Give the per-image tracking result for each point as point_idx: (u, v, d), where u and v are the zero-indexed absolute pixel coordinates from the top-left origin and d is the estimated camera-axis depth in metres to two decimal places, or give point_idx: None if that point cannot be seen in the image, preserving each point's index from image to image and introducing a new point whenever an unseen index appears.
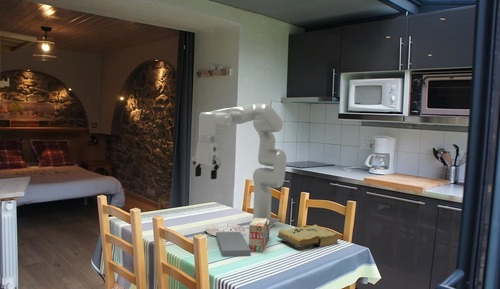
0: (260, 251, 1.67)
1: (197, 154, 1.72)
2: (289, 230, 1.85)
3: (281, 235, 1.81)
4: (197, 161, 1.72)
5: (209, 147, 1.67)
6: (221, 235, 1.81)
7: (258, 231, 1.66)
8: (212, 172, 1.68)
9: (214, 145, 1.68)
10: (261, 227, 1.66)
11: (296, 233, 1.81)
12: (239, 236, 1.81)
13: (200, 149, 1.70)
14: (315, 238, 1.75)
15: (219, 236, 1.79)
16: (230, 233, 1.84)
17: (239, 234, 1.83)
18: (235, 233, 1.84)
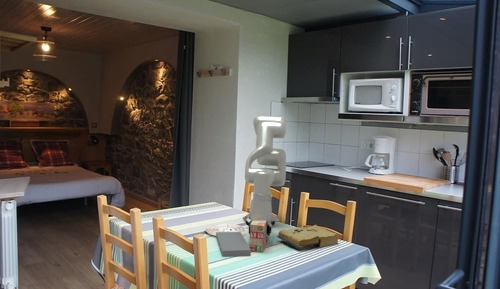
0: (261, 250, 1.67)
1: (253, 213, 1.73)
2: (289, 230, 1.84)
3: (281, 235, 1.81)
4: None
5: (269, 205, 1.75)
6: (221, 235, 1.81)
7: (259, 231, 1.67)
8: (270, 229, 1.76)
9: None
10: (262, 226, 1.66)
11: (296, 233, 1.80)
12: (239, 236, 1.81)
13: (259, 208, 1.73)
14: (315, 238, 1.75)
15: (219, 236, 1.79)
16: (230, 233, 1.84)
17: (239, 234, 1.83)
18: (235, 233, 1.84)
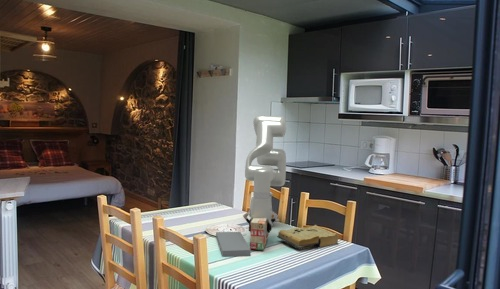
0: (261, 248, 1.68)
1: (253, 211, 1.74)
2: (289, 230, 1.84)
3: (281, 235, 1.81)
4: (254, 217, 1.74)
5: (270, 202, 1.75)
6: (221, 235, 1.81)
7: (259, 228, 1.67)
8: (270, 226, 1.77)
9: (270, 199, 1.77)
10: (262, 224, 1.67)
11: (296, 233, 1.80)
12: (239, 236, 1.81)
13: (259, 205, 1.74)
14: (315, 238, 1.75)
15: (219, 236, 1.79)
16: (230, 233, 1.84)
17: (239, 234, 1.83)
18: (235, 233, 1.84)
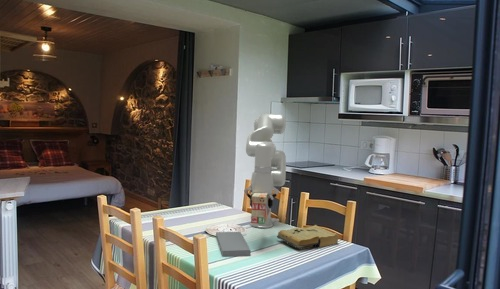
0: (263, 222, 1.67)
1: (255, 186, 1.73)
2: (289, 230, 1.84)
3: (281, 235, 1.81)
4: (255, 192, 1.73)
5: (271, 177, 1.74)
6: (221, 235, 1.81)
7: (261, 202, 1.66)
8: (271, 201, 1.76)
9: (272, 174, 1.76)
10: (264, 198, 1.66)
11: (296, 233, 1.80)
12: (239, 236, 1.81)
13: (260, 180, 1.73)
14: (315, 239, 1.75)
15: (219, 236, 1.79)
16: (230, 233, 1.84)
17: (239, 234, 1.83)
18: (235, 233, 1.84)
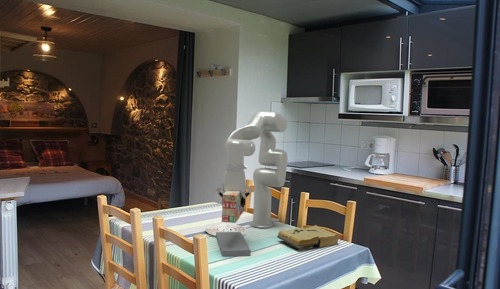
0: (234, 221, 1.63)
1: (226, 184, 1.69)
2: (289, 231, 1.84)
3: (281, 236, 1.81)
4: None
5: (243, 175, 1.70)
6: (221, 235, 1.81)
7: (231, 200, 1.62)
8: (244, 200, 1.72)
9: None
10: (234, 196, 1.62)
11: (296, 234, 1.80)
12: (239, 236, 1.81)
13: (232, 178, 1.69)
14: (315, 239, 1.74)
15: (219, 236, 1.79)
16: (230, 233, 1.84)
17: (239, 234, 1.83)
18: (235, 233, 1.84)
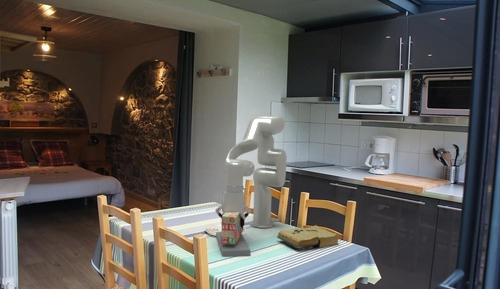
0: (233, 243, 1.64)
1: (226, 205, 1.70)
2: (289, 231, 1.84)
3: (281, 236, 1.80)
4: None
5: (242, 196, 1.71)
6: None
7: (231, 222, 1.63)
8: (243, 221, 1.73)
9: None
10: (234, 218, 1.63)
11: (296, 234, 1.79)
12: None
13: (231, 199, 1.70)
14: (315, 239, 1.74)
15: (219, 236, 1.79)
16: None
17: None
18: None
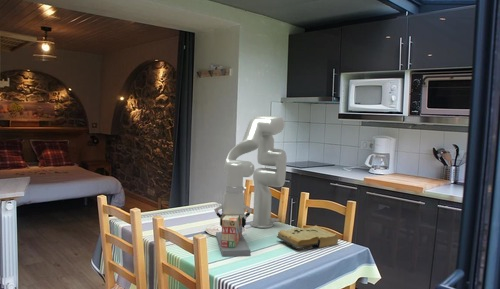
0: (233, 246, 1.64)
1: (226, 206, 1.70)
2: (289, 231, 1.84)
3: (280, 236, 1.80)
4: (226, 212, 1.70)
5: (242, 197, 1.71)
6: (221, 235, 1.81)
7: (231, 226, 1.63)
8: (244, 221, 1.73)
9: None
10: (234, 222, 1.63)
11: (295, 234, 1.79)
12: None
13: (231, 200, 1.70)
14: (314, 239, 1.74)
15: (219, 236, 1.79)
16: None
17: None
18: None
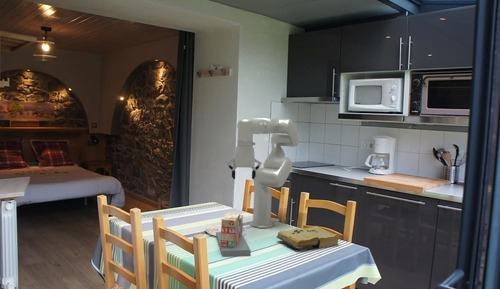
0: (232, 246, 1.64)
1: (237, 159, 1.85)
2: (289, 231, 1.83)
3: (280, 236, 1.80)
4: (237, 165, 1.86)
5: (252, 151, 1.87)
6: None
7: (230, 226, 1.64)
8: (254, 173, 1.89)
9: None
10: (233, 221, 1.63)
11: (295, 234, 1.79)
12: None
13: (242, 153, 1.85)
14: (314, 239, 1.73)
15: (219, 236, 1.79)
16: None
17: None
18: None
